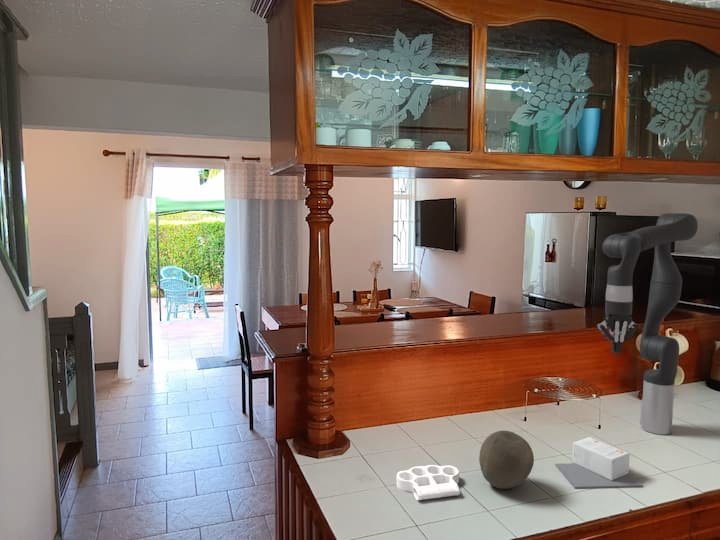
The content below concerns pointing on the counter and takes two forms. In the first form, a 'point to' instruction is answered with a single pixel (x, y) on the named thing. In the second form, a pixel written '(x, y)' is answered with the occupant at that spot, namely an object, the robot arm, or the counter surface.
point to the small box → (601, 458)
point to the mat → (594, 478)
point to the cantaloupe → (505, 459)
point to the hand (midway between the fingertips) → (616, 352)
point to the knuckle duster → (429, 481)
